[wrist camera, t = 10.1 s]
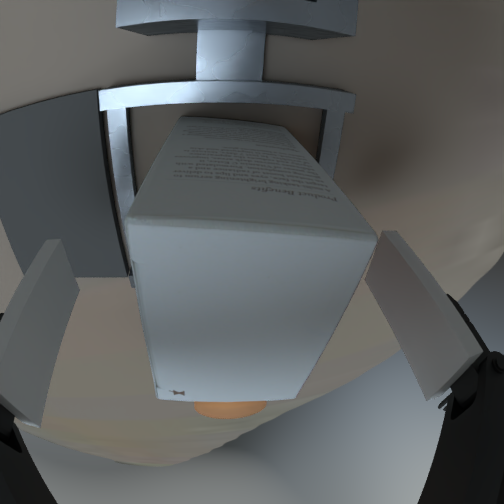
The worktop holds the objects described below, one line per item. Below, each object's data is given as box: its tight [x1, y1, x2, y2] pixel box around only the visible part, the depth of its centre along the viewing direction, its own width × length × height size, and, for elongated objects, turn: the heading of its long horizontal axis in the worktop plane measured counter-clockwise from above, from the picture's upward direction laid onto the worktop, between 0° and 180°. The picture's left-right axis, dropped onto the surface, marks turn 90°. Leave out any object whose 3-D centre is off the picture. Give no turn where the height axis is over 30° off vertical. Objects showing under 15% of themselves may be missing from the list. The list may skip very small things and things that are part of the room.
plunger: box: [194, 401, 266, 419], centre depth 20 cm, size 5×5×6 cm
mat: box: [0, 88, 129, 277], centre depth 15 cm, size 9×12×1 cm
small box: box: [124, 116, 379, 402], centre depth 12 cm, size 8×6×10 cm
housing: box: [99, 0, 358, 288], centre depth 14 cm, size 12×31×5 cm, turn 177°
